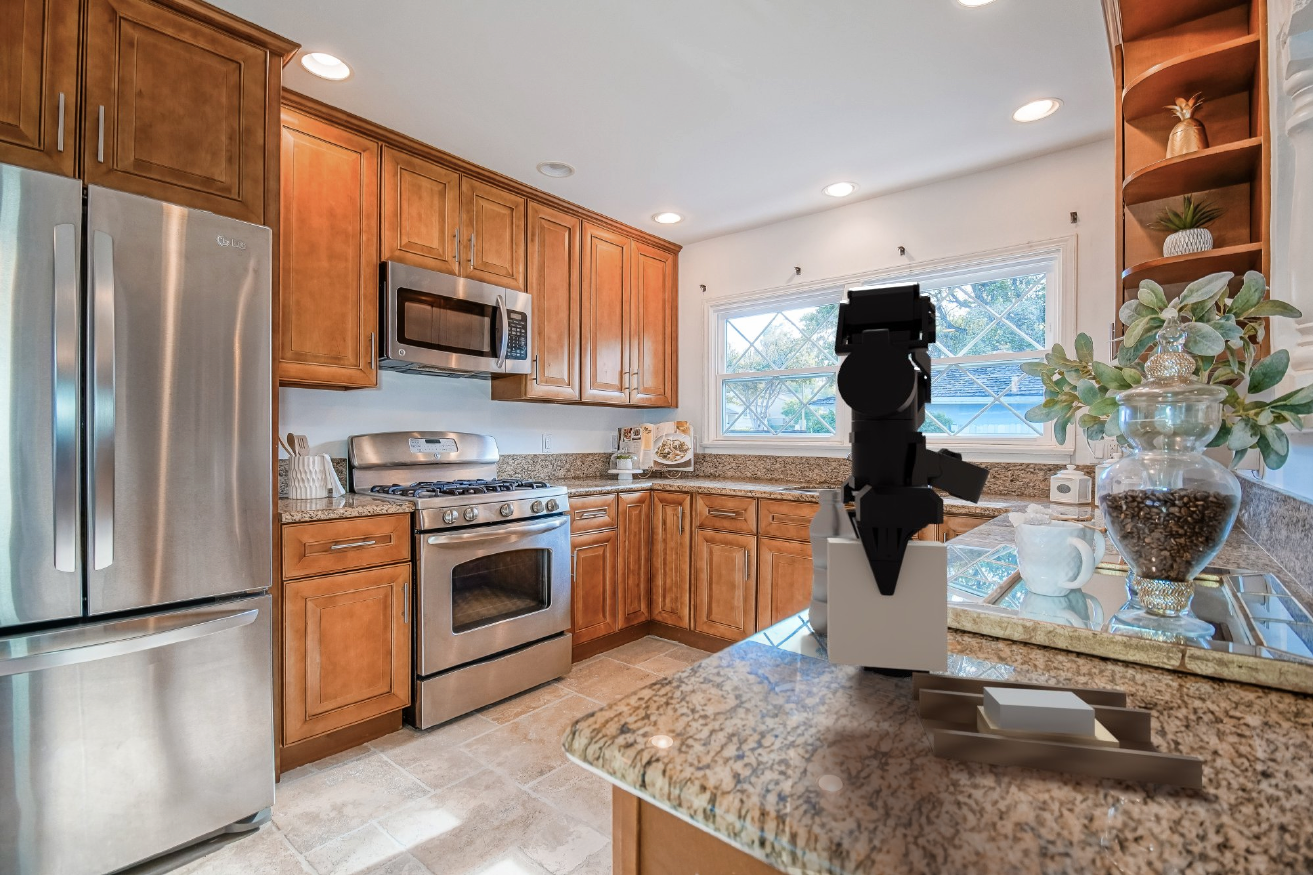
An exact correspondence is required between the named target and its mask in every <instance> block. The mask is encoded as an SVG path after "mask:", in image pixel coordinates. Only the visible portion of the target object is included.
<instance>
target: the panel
mask: <svg viewBox="0 0 1313 875" xmlns="http://www.w3.org/2000/svg"><path fill="white" fill-rule="evenodd" d="M913 540H914V539H913ZM913 540H909V541H908V544H907V547H906V551H905V554H904V558H903V562H902V565H901V569H900V573H899V577H898V581H897V584H896V588H895V592H894V595H892V596H884V595H881V594H880V592H879V589H878V586H877V584H876V581H875V578H874V576H873V573H872V570H871V568H870V565H869V562H868V559H867V557H866V554H865V551H864V548H863V546H862V543H861V540H860V539H857V538H856V539H851V538H827V635H826V637H827V639H826V640H827V641H826V642H827V645H826V646H827V647H826V648H827V649H826V651H827V658H828V663H829V664H831V665H845V666H856V667H857V666H858V667H863V666H870V667H884V668H898V669H911V670H925V671H930V672H939V673H940V672H941V673H942V672H943V673H948V672H949V671H948V669H949V668H948V666H949V665H948V663H949V662H948V656H949V655H948V654H949V653H948V651H949V650H948V546H947V545H945V544H944V543H943V542H941V541H939V540H934V541H933V540H914V541H913Z"/></svg>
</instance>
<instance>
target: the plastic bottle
mask: <svg viewBox="0 0 1313 875" xmlns="http://www.w3.org/2000/svg"><path fill="white" fill-rule="evenodd" d="M817 501H818V505H819V504H820V507H819V508H818V510H817V512H816V513H815V514H814V516H813V518H812V519H811V521H810V523H809V527H808V529H809V531H808V532H809V538H810V539H809V540H810V548H811V554H812V556H811V557H812V575H813V576H812V585H811V586H812V588H811V598H810V600H809V601H810V602H809V607H808V614H807V615H808V621H809V625H810V628H811V629H812V630H813V631H814V632H815V633H817V634H819V635H820V634H821V635H824V636H827V538H851V539H857V538H856V536H855V533H854V531H853V528H852V526H851V523H850V521H849V518H848V516H847V514H846V509H847V508H846V507H845V504H843V503H842V502H841V489H820V490H819V491H818V500H817Z"/></svg>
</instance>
